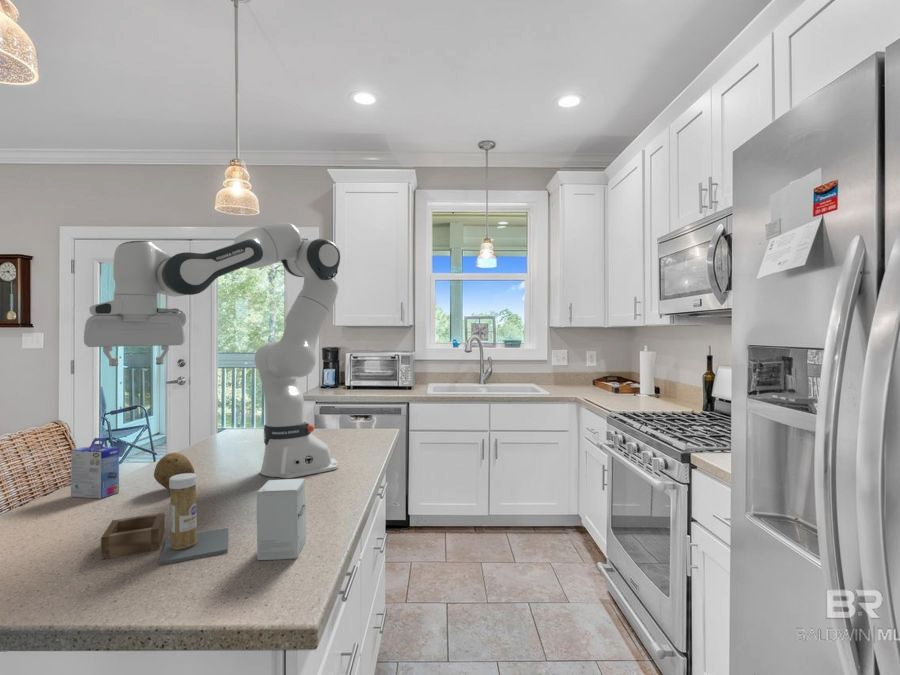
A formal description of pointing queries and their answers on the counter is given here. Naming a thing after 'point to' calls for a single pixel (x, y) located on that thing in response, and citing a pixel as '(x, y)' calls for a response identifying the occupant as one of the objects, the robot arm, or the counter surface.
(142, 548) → the walnut holder
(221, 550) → the rubber mat
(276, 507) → the supplement box
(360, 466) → the counter surface
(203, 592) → the counter surface
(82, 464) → the ink cartridge box
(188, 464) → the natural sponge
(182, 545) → the sprinkles bottle
